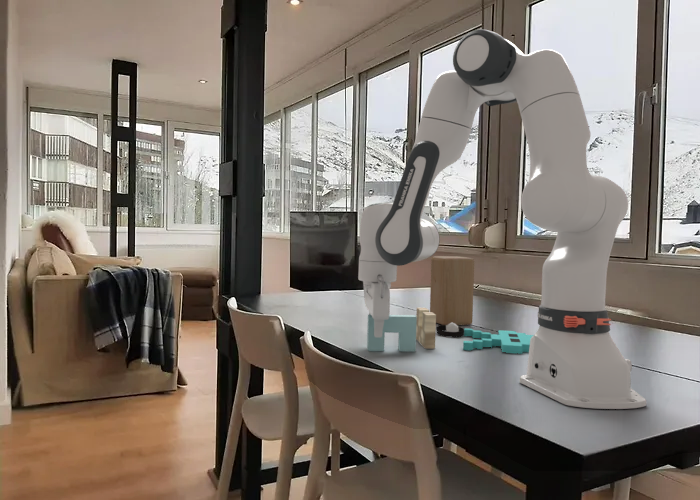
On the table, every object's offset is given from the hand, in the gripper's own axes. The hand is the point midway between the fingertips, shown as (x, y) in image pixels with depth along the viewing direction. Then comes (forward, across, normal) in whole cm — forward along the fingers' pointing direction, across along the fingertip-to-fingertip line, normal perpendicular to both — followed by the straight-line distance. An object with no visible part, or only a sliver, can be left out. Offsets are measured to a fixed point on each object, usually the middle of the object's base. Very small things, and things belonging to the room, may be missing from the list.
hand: (375, 332), depth 133 cm
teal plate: (+4, 0, -4) cm, 5 cm away
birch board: (+4, +8, -13) cm, 16 cm away
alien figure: (+4, +8, -33) cm, 34 cm away
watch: (+4, +19, -22) cm, 29 cm away
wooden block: (+4, +39, -27) cm, 47 cm away
